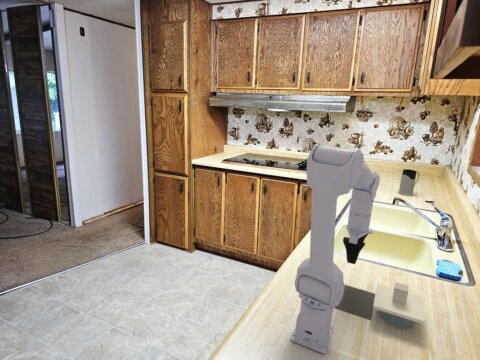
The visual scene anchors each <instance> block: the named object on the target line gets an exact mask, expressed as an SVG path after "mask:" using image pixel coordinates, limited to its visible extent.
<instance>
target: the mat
mask: <svg viewBox="0 0 480 360" xmlns="http://www.w3.org/2000/svg"><path fill="white" fill-rule="evenodd" d="M344 285H345V287H344V293H343V297H342V299H341V301H340V303H339V305H338V306H336V307H334V308H333V309H336V310H338V311H342V312H344V313H347V314H351V315H353V316H357V317H360V318H362V319H364V320H365V319H366V320H369V321H372V319H373V313H374V310H375V309H373V304H374V299H375V294H376V292H371V291H368V290H364V289H361V288H357V287H354V286H350V285H348V284H344Z"/></svg>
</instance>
